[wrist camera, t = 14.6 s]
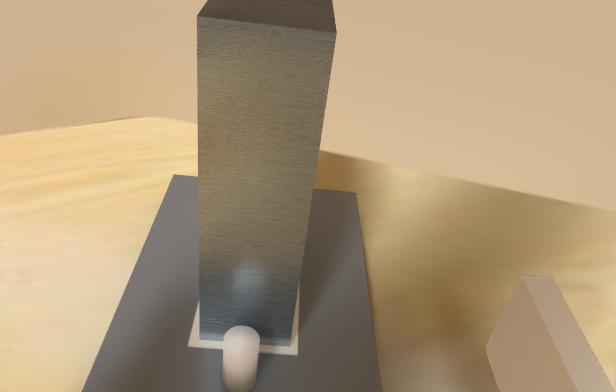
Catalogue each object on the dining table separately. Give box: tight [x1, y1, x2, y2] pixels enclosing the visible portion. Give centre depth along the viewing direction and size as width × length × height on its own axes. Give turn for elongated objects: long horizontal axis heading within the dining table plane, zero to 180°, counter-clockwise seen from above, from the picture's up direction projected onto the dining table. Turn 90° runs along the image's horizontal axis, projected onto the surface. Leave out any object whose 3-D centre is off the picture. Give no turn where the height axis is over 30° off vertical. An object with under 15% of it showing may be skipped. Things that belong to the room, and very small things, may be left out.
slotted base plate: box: [82, 175, 381, 392], centre depth 25 cm, size 12×18×4 cm, turn 179°
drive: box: [197, 0, 337, 347], centre depth 22 cm, size 4×8×14 cm, turn 179°
